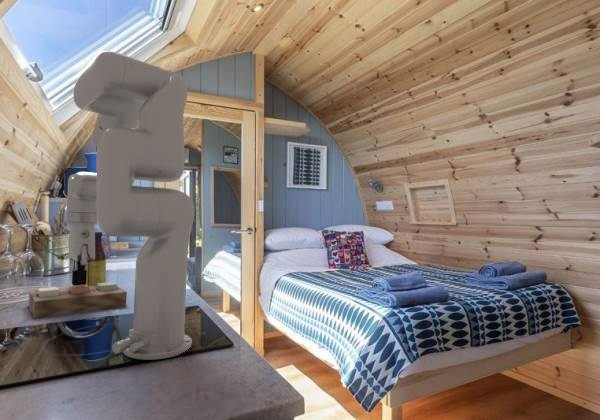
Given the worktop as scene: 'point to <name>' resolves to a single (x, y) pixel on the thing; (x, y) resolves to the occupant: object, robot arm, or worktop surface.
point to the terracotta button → (78, 289)
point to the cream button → (48, 292)
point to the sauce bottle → (97, 264)
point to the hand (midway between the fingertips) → (78, 284)
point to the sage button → (106, 286)
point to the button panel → (75, 301)
